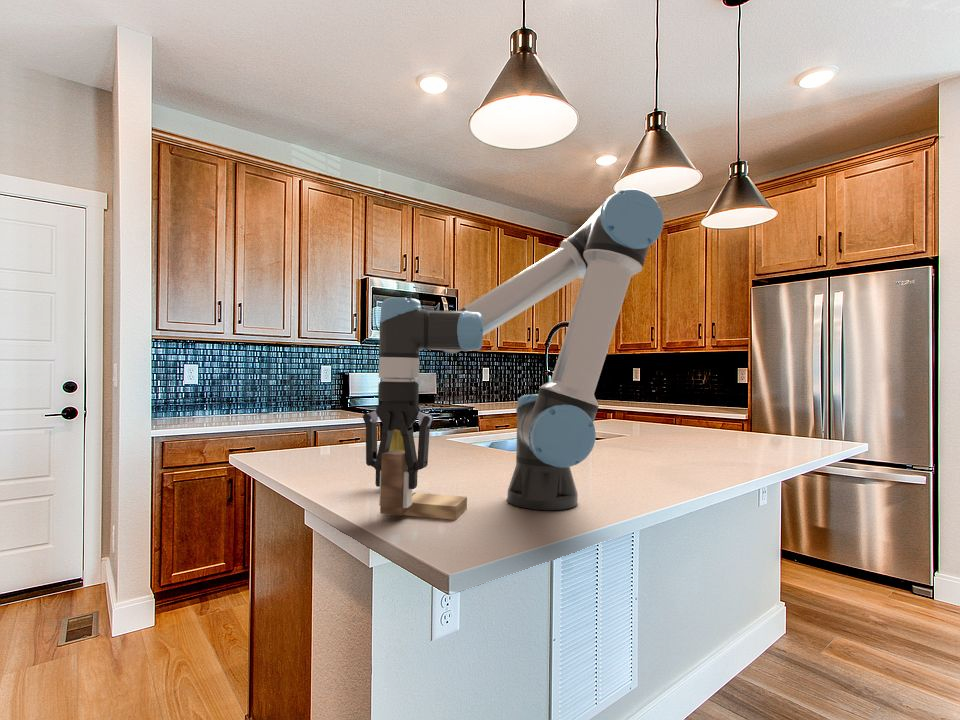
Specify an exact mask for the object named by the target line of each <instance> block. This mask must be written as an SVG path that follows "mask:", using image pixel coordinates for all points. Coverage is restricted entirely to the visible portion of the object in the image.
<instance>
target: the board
mask: <svg viewBox="0 0 960 720" xmlns="http://www.w3.org/2000/svg"><path fill="white" fill-rule="evenodd" d="M467 510H468V496H459V495H449V494H435V493H425V492H424V493H423V492H421V493H420V492H412V505H411V507H410V509H409V510H408V511H406V512H405V513H404V514H402V515H401V516H409V517H421V518H430V519H431V518H433V519H443V520H452V521H456V520H458V518H459V517H460V516H461V515H462V514H464V513H465V512H466V511H467Z"/></svg>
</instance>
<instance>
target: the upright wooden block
mask: <svg viewBox="0 0 960 720" xmlns="http://www.w3.org/2000/svg"><path fill="white" fill-rule="evenodd" d="M406 470H408V467H407V461H406V455H405V451H402V450H391V451H388V452H385V453H382V461H381V500H380V507H379V509H380V510H379V513H380V514H381V515H388V516H389V515H391V516H403V515H402V514H404V513H405V512H406V511H408V510H409V509H410V507H411V506H409V507H408V508H403V489H404V472H406Z"/></svg>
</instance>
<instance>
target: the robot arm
mask: <svg viewBox="0 0 960 720" xmlns="http://www.w3.org/2000/svg"><path fill="white" fill-rule="evenodd" d="M664 219H665V218H664V214H663V210H662V207H660V204H659V203H658V201H657V200H656V198H654V197H653V196H652V195H651V194H650V193H648V192H645V191H644V190H641V189H637V188H625V189H622V190H619V191H617V192H615V193H614V194H611V195H610V196H608V197H607V198H606V199H605V200H604V202H603V203H602V205H601V206H600V207H599V208H598V209H597V210H596V211H595V212H594V213H593V214H592V215H590V217H589V218H588V219H587V221H585V222H584V224H582V226H581V227H580V228H578V230H576V231H575V232H574V233H573V234H571V235H570V236H568V237H567V238H565V239H564V240H562V241H561V242H560V244H559V245H560V246H559V248H558V249H556V250H555V251H553V252H552V253H549V254H548V255H546V256H545V257H543V258H542V259H540V260H539V261H537V262H535V263H534V264H532V265H530V266H528V267H526V269H524V270H522V271H521V272H519V273H517V274H516V275H514V276H512V277H511V278H509V279H507V280H506V281H504V282H503V283H501V284H499V285H497V286H496V287H495V288H493V289H491V290H489V291H488V292H486V293H485V294H483V295H481V296H480V297H478V298H476V299H475V300H473V301H472V302H470V303H468V304H467V305H465V306H464V307H462V308H460V309H458V310H426V309H422V306H421V301H420V300H419V299H417V298H412V297H410V298H409V297H408V298H407V297H389V298H386V299H384V300H383V301H382V302H381V304H380V320H379V354H378V355H379V356H378V357H379V360H378V378H379V379H381V381H379V382H378V388H377V389H378V392H377V393H378V394H377V396H378V397H377V400H378V401H377V402H378V403H377V407H376V408H375V410H374V411H371V412H367V413H364V414H363V415H362V419H363V422H364V425H365V463H366V465H367V466H368V467H371V468H374V470H375V486H376V487H378V488H379V497H378V498H379V499H378V501H379V502H378V504H379V506H380V500H381V461H382V453H385V452H388V451H389V449H390V445H391V440H392V435H393V433H394V431H395V429H396V430H399V431H400V432H401V435H402V437H403V443H404V449H405V455H406V461H407V467H408V470H406V472H404V489H403V508H408V507H409V506H411V505H412V493H413V490H414V489H416V488H417V486H418V472H419V471H420V470H422V469H425V468H427V466H428V462H429V448H430V445H429V444H430V431H431V426H432V423H433V422H434V421H433V420H434V416H433V415H431V414H428V415H427V414H425V413H423V412H421V409H420V407H419V392H420V391H419V390H420V389H419V385H420V384H419V382H417V381H416V380H418V379H419V377H420V350H424V351H425V350H432V351H442V352H444V353H445V354H446V353H447V354H450V355H452V354H458V353H460V352H461V351H463V352H469V351H471V352H472V351H475V352H476V351H479V350H481V349H482V347H483V341H484V336H485V335H487V334H489V333H491V332H492V331H493V330H495V329H496V328H499V327H501V326H502V325H503V324H505V323H507V322H508V321H510V320H512V319H514V318H515V317H516V316H519V314H521V313H523V312H524V311H526V310H527V309H528V310H529V308H531V307H533V306H534V305H536V304H538V303H540V302H541V301H542V300H544V299H546V298H548V297H549V296H551V295H552V294H553V293H556V292H557V291H559V290H561V289H562V288H564V287H565V286H566V285H568V284H570V283H572V282H573V281H574V280H576V279H580V280H582V283H581V285H580V289H579V292H578V294H577V298H576V302H575V304H574V307H573V311H572V313H571V316H570V320H569V323H568V326H567V329H566V333H565V335H564V339H563V342H562V345H561V348H560V351H559V353H558V357H557V361H556V363H555V366H554V369H553V373H552V376H551V378H550V381H548V382H545V383H543V384H542V385H540V388H539V391H538V393H537V394H535V393H533V394H524V395H521V396H520V397H519V398H518V400H517V406H516V409H515V410H516V446H515V447H516V451H515V452H516V458H515V459H516V460H515V461H516V462H515V467H514V471H513V473H512V476H511V480H510V483H509V486H508V488H507V498H506V499H507V502H508V503H509V504H510V505H513V506H516V507H519V508H524V509H530V510H537V511H538V510H539V511H561V510H569V509H571V508H574V507H577V506H578V499H579V498H578V496H579V495H578V490H577V487H576V483H575V480H574V476H573V473H572V470H571V467H573V466H577V465H578V464H580V463H582V462H583V461H585V460H586V458H588V457H589V455H590V454H591V452H592V451H593V449H594V446H595V443H596V436H597V435H596V428H595V427H596V426H595V424H594V422H595V419H596V415H597V413H598V409H599V406H600V405H599V402H598V400H597V399H596V396H595V392H596V389H597V386H598V382H599V380H600V376H601V373H602V370H603V368H604V367H603V366H604V363H605V361H606V357H607V354H608V350H609V348H610V345H611V342H612V339H613V335H614V332H615V329H616V326H617V322H618V319H619V316H620V314H621V313H620V312H621V310H622V308H623V304H624V301H625V297H626V294H627V291H628V288H629V285H630V283H631V280H632V279H631V278H632V277H633V276H634V275H636V274H639V273H641V272H642V270H643V267H644V264H645V261H646V258H647V255H648V253H649V252H648V251H649V249H650V246H652V245H654V243H656V241H657V240H658V238H659V237H660V235H661V233H662V231H663V228H664ZM417 419H418V425H419V427H418V428H419V429H418V430H419V431H418V442H417V443H418V446H417V450H416V444H415V438H414V427H413V426H414V423H415V422H416V420H417ZM378 420H380V421H381V423H382V425H381V426H382V427H381V431H380V433H381V436H380V440H379V446H378V424H377V422H378ZM416 451H417V452H416Z"/></svg>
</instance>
